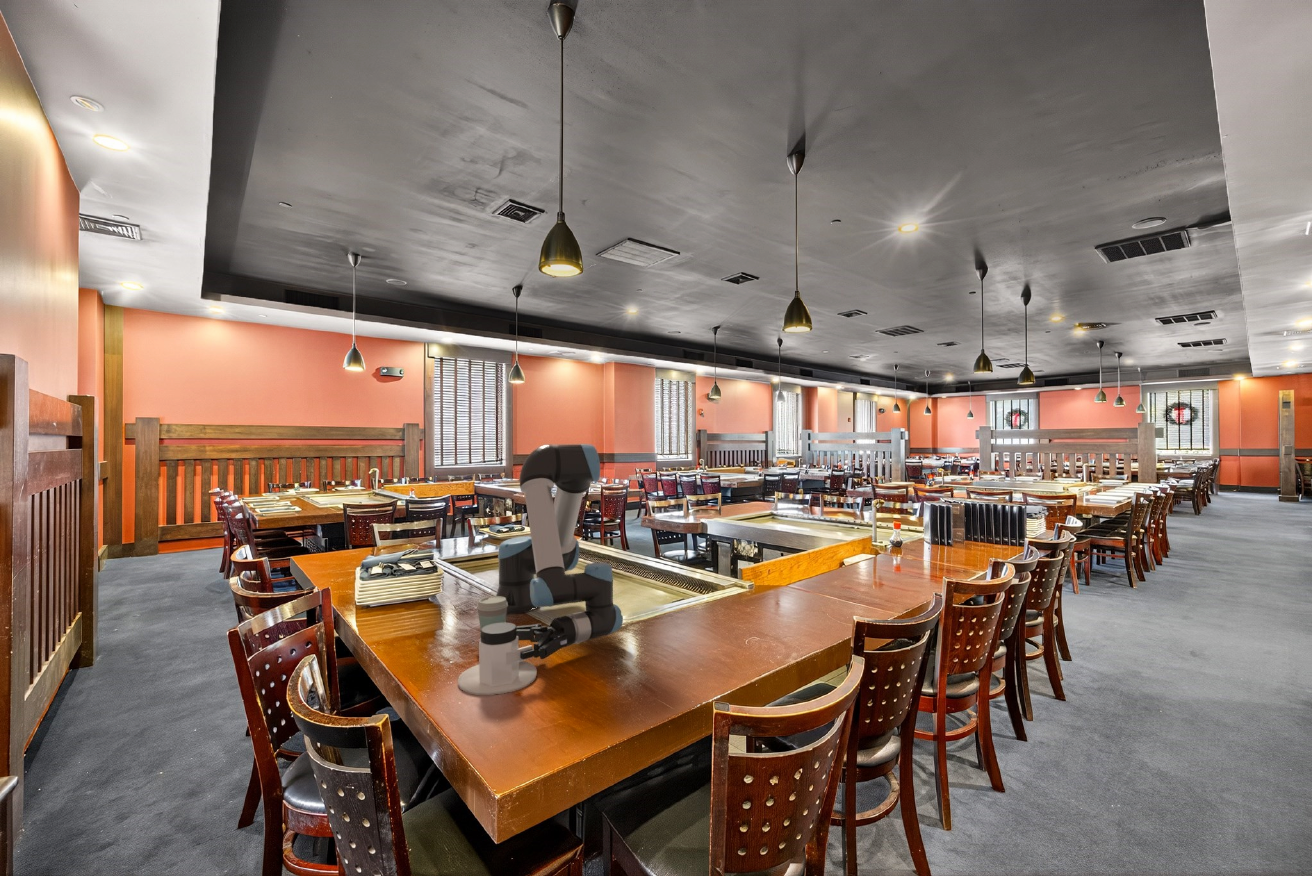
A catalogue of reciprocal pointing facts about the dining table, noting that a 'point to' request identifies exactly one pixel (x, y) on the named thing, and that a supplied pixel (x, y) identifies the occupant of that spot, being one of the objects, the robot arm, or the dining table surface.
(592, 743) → the dining table surface
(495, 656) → the jar
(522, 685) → the saucer
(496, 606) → the coffee cup
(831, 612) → the dining table surface
